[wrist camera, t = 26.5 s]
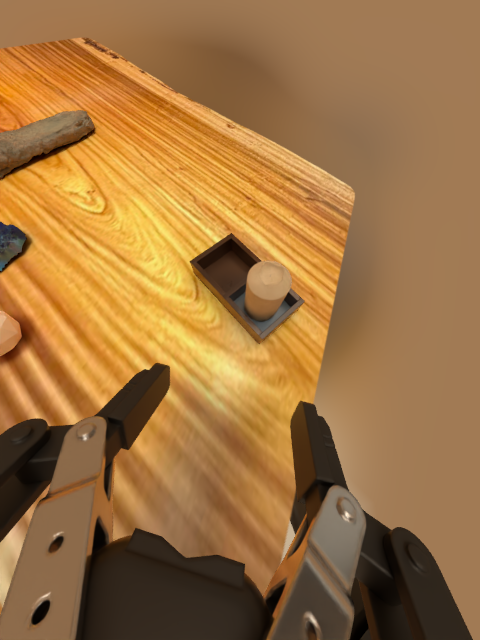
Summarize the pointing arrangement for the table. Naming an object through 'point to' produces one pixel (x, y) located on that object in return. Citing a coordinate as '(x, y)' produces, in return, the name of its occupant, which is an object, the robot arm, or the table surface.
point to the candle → (266, 289)
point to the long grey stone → (41, 138)
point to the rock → (10, 243)
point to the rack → (239, 284)
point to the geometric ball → (8, 333)
